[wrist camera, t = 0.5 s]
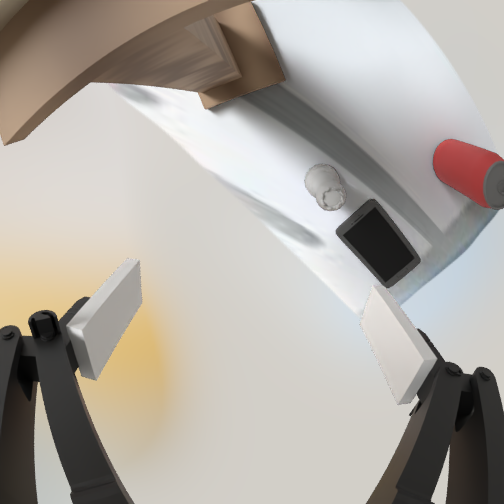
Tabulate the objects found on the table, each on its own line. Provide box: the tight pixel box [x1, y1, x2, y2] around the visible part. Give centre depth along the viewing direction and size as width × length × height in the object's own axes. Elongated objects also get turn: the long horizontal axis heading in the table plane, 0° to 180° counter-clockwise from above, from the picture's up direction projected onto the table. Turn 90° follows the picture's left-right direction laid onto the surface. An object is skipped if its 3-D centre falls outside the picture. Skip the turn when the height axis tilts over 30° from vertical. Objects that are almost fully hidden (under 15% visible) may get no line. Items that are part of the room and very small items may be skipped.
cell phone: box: [336, 199, 420, 288], centre depth 39 cm, size 7×14×1 cm, turn 48°
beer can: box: [433, 139, 504, 210], centre depth 27 cm, size 7×7×12 cm
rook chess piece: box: [304, 164, 346, 211], centre depth 32 cm, size 4×4×8 cm
